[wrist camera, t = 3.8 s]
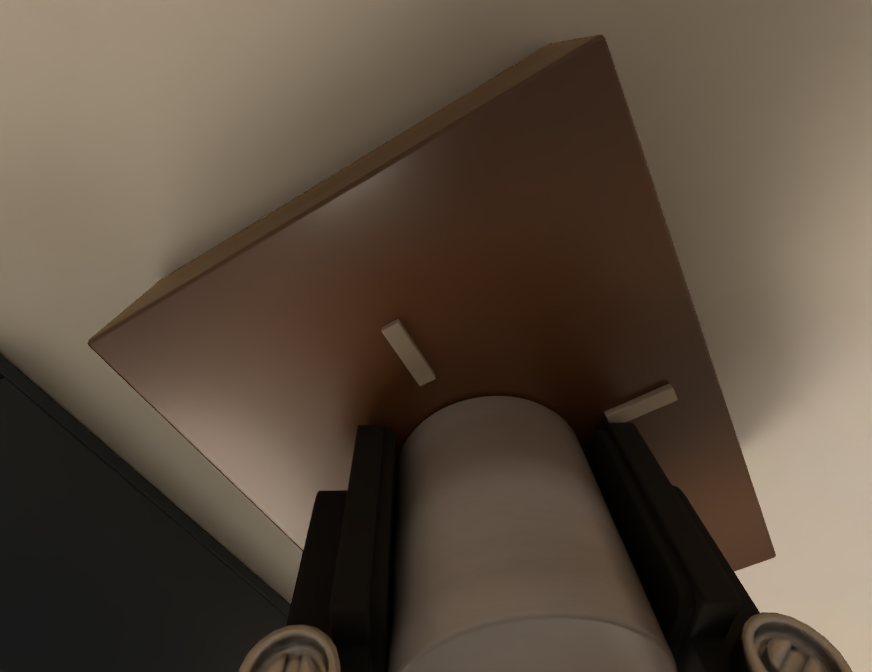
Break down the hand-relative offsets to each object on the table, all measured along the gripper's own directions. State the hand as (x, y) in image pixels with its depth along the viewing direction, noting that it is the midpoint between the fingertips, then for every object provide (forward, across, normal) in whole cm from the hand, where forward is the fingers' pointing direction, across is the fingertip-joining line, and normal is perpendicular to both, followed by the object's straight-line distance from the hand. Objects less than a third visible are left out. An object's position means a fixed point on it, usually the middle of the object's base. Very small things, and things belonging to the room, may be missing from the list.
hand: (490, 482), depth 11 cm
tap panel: (+3, 0, 0) cm, 3 cm away
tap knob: (0, 0, 0) cm, 0 cm away
